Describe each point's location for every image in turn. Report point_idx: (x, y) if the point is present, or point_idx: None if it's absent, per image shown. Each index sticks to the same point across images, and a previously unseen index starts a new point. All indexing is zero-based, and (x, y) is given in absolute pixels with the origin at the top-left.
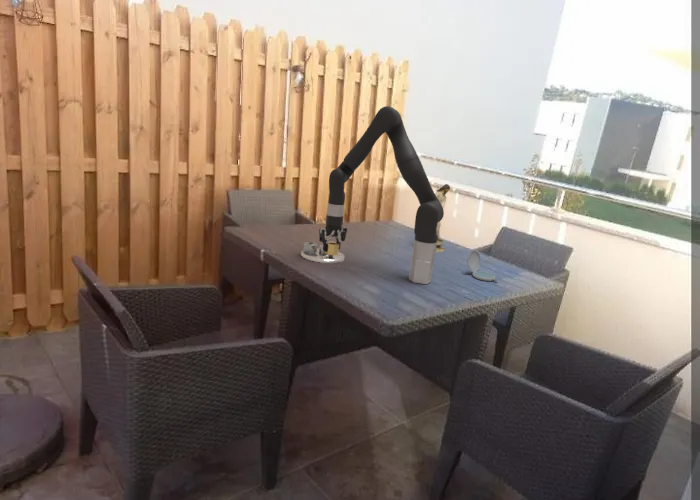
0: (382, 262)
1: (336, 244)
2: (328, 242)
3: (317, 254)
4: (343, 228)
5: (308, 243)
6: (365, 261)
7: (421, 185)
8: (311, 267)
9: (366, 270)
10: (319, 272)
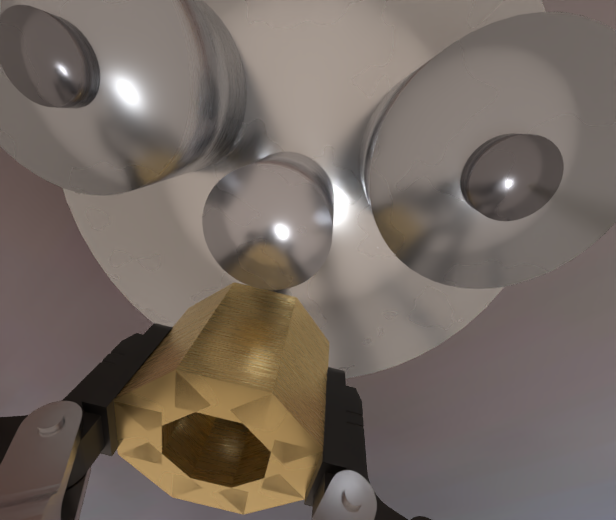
0: (560, 503)
1: (240, 493)
2: (197, 401)
3: (225, 173)
4: None
5: (26, 11)
6: (489, 444)
7: None
8: (34, 322)
9: None
10: (43, 394)
